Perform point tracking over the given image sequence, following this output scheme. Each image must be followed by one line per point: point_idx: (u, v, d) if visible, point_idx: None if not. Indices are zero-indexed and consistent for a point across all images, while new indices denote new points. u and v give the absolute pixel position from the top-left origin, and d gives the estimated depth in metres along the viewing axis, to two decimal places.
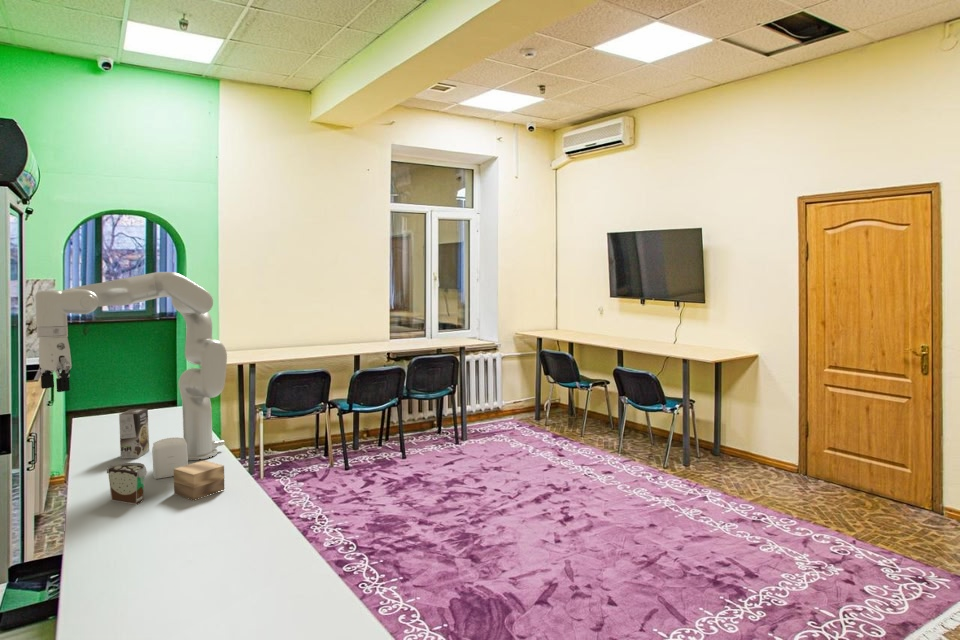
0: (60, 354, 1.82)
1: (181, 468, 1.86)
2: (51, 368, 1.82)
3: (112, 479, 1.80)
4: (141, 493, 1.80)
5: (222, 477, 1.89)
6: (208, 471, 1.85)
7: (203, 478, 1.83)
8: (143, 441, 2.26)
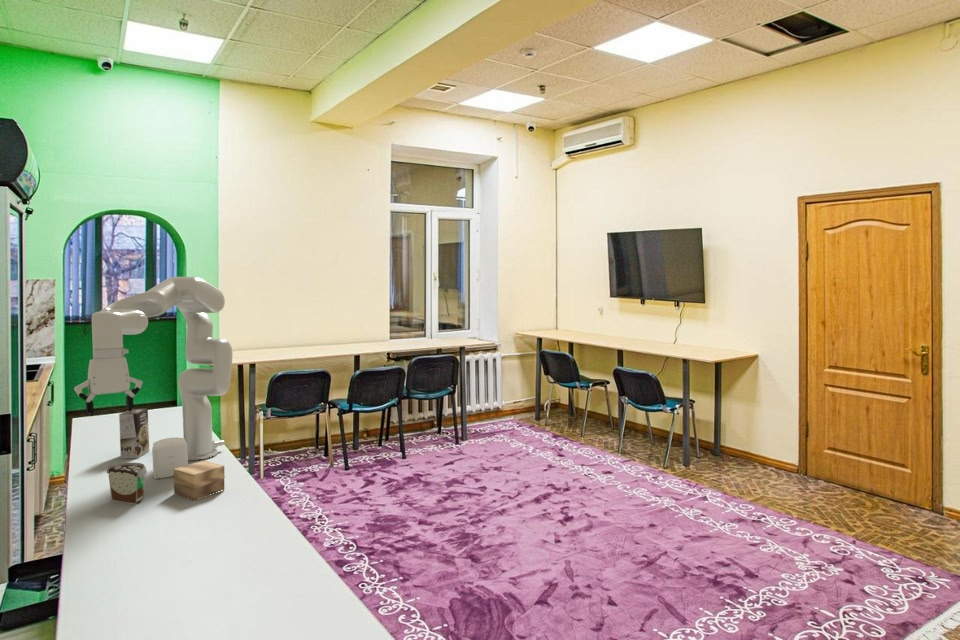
0: None
1: (181, 468, 1.86)
2: (123, 389, 1.82)
3: (112, 479, 1.80)
4: (141, 493, 1.80)
5: (222, 477, 1.89)
6: (208, 471, 1.85)
7: (203, 478, 1.83)
8: (143, 441, 2.26)
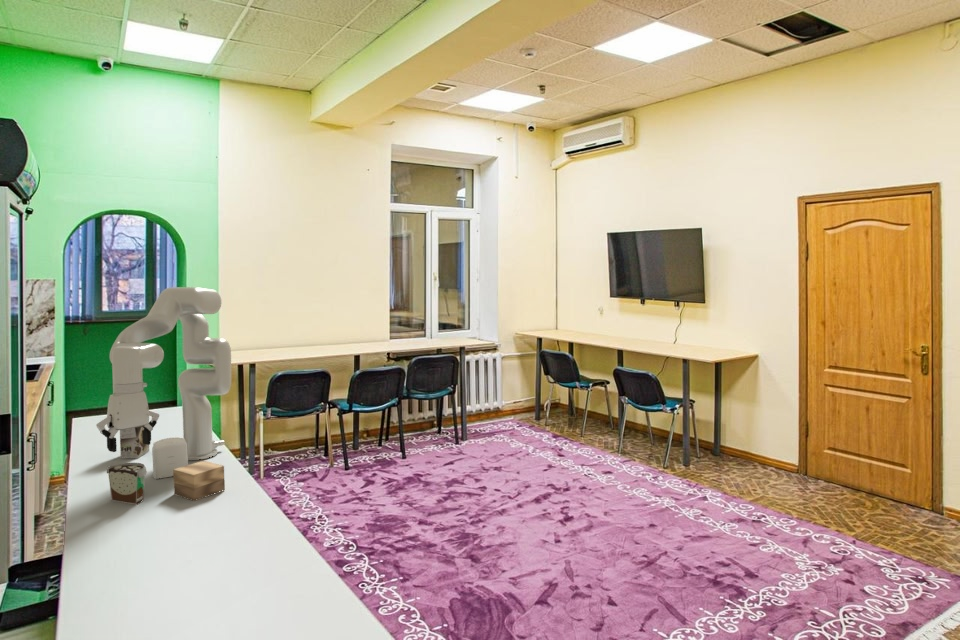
0: None
1: (181, 469, 1.86)
2: (143, 422, 1.82)
3: (112, 479, 1.80)
4: (141, 493, 1.80)
5: (222, 477, 1.89)
6: (208, 471, 1.85)
7: (203, 478, 1.83)
8: None
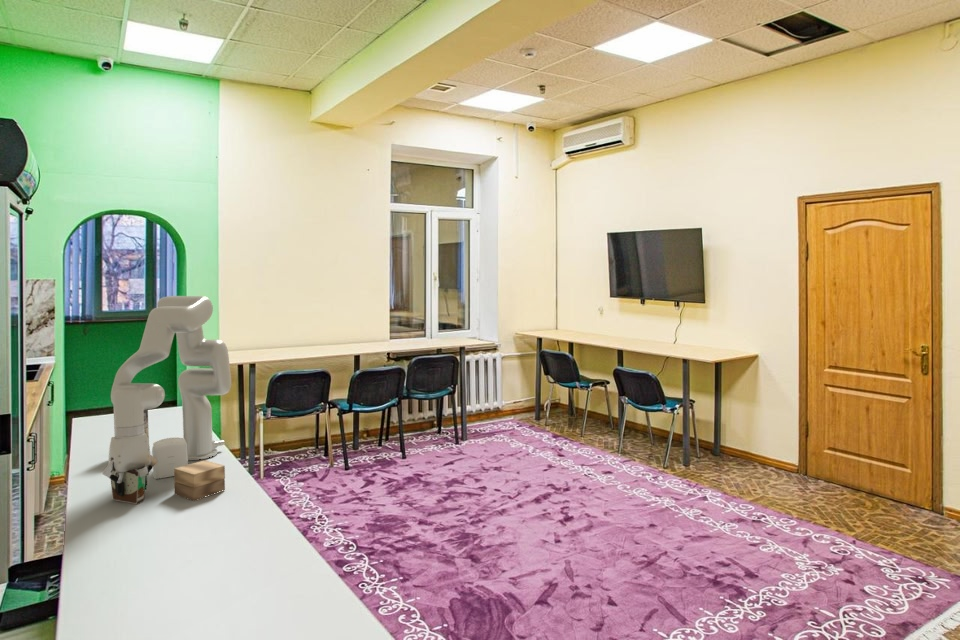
0: None
1: (182, 468, 1.86)
2: (145, 464, 1.83)
3: None
4: (142, 493, 1.80)
5: (223, 477, 1.89)
6: (209, 471, 1.85)
7: (203, 478, 1.83)
8: None
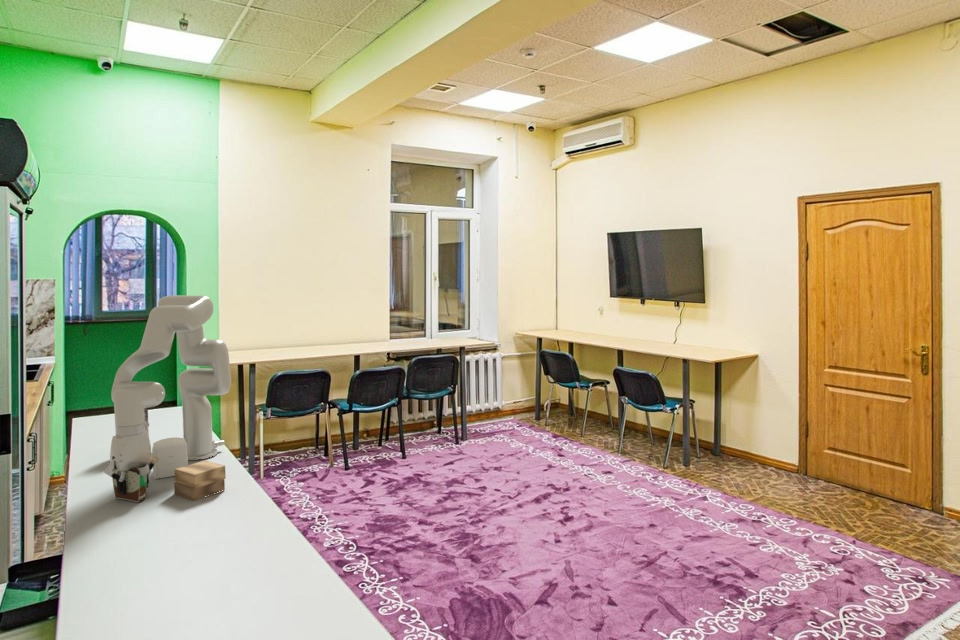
0: None
1: (182, 468, 1.86)
2: (146, 462, 1.83)
3: None
4: (144, 491, 1.81)
5: (223, 477, 1.89)
6: (209, 471, 1.85)
7: (204, 478, 1.83)
8: None
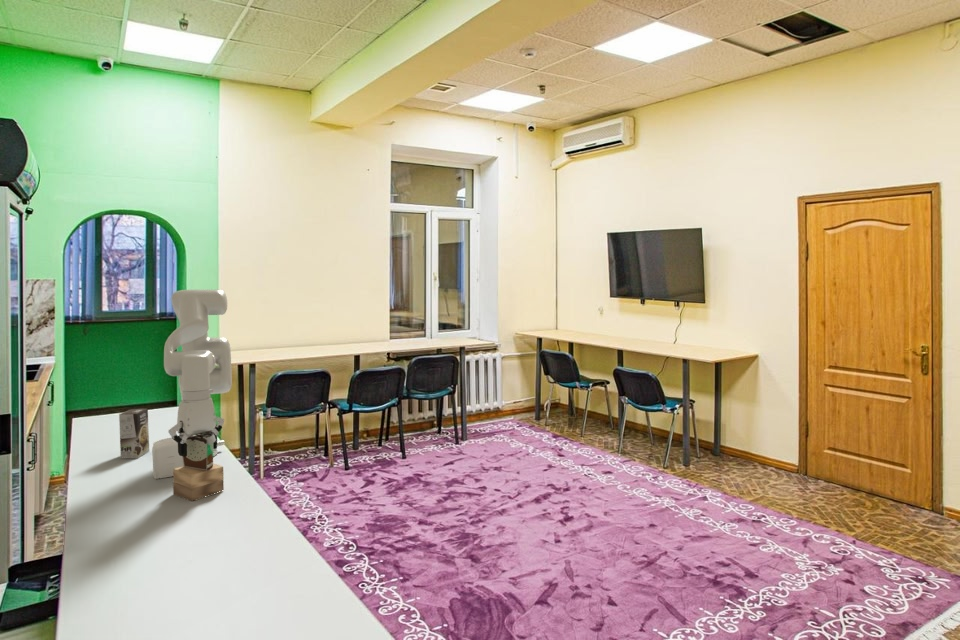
0: None
1: (181, 468, 1.86)
2: (211, 428, 1.88)
3: None
4: (211, 460, 1.86)
5: (221, 478, 1.88)
6: (207, 471, 1.84)
7: (201, 479, 1.83)
8: (143, 441, 2.26)
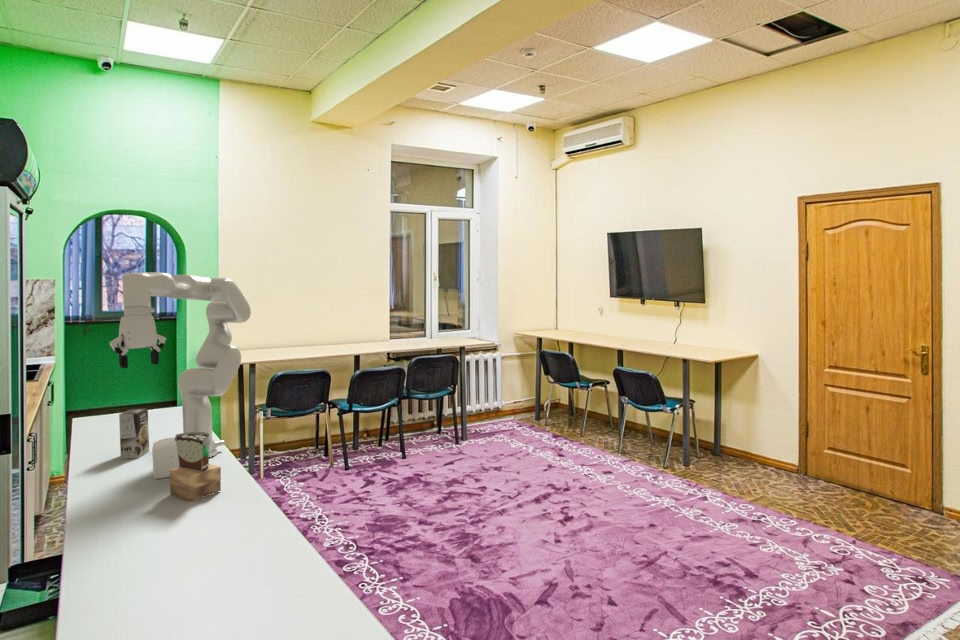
0: None
1: (177, 469, 1.85)
2: (152, 343, 1.99)
3: (179, 447, 1.86)
4: (206, 461, 1.85)
5: (218, 478, 1.88)
6: (204, 472, 1.84)
7: (199, 479, 1.82)
8: (143, 441, 2.26)
